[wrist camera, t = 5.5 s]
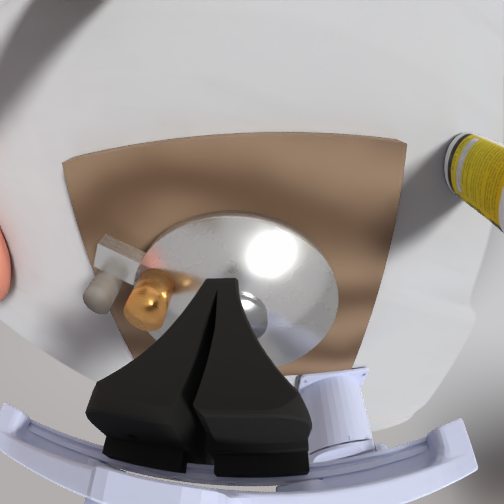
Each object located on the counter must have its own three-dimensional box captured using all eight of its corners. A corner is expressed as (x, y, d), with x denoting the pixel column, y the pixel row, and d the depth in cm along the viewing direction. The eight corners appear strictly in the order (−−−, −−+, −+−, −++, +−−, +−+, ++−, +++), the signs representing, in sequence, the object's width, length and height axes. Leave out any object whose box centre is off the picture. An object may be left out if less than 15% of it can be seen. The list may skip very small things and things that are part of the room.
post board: (348, 358, 27) (359, 401, 22) (144, 360, 28) (132, 402, 23) (396, 139, 15) (443, 161, 11) (73, 156, 16) (25, 183, 11)
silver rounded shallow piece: (373, 268, 18) (396, 310, 14) (270, 376, 24) (271, 414, 21) (130, 149, 14) (93, 170, 10) (92, 309, 20) (72, 346, 17)
